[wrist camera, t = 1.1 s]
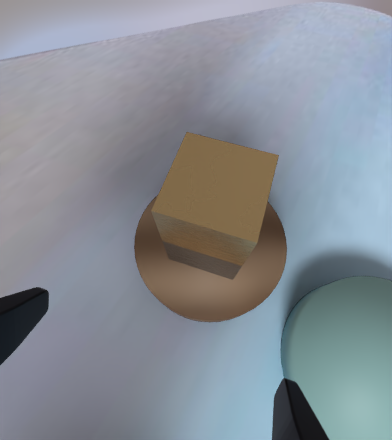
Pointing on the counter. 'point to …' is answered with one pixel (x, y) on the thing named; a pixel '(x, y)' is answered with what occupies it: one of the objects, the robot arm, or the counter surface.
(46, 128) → the counter surface
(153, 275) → the stand
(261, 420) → the counter surface
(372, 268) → the counter surface
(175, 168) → the block
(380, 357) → the stand
